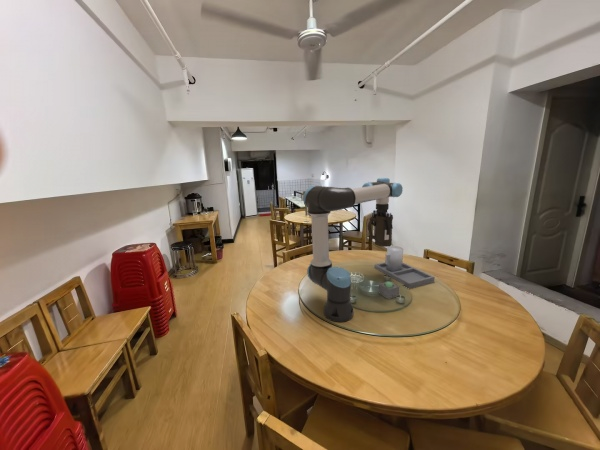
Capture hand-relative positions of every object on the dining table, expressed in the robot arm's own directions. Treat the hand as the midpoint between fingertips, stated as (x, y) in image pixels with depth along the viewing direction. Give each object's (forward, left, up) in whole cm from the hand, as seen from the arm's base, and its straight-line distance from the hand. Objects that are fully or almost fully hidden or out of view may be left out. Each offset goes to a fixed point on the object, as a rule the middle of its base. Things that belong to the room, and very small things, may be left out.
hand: (380, 237), depth 150 cm
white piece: (+5, -16, -28) cm, 33 cm away
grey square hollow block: (-19, +9, -29) cm, 35 cm away
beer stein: (+1, 0, -5) cm, 5 cm away
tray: (-3, -17, -29) cm, 34 cm away
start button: (-19, +9, -28) cm, 34 cm away
